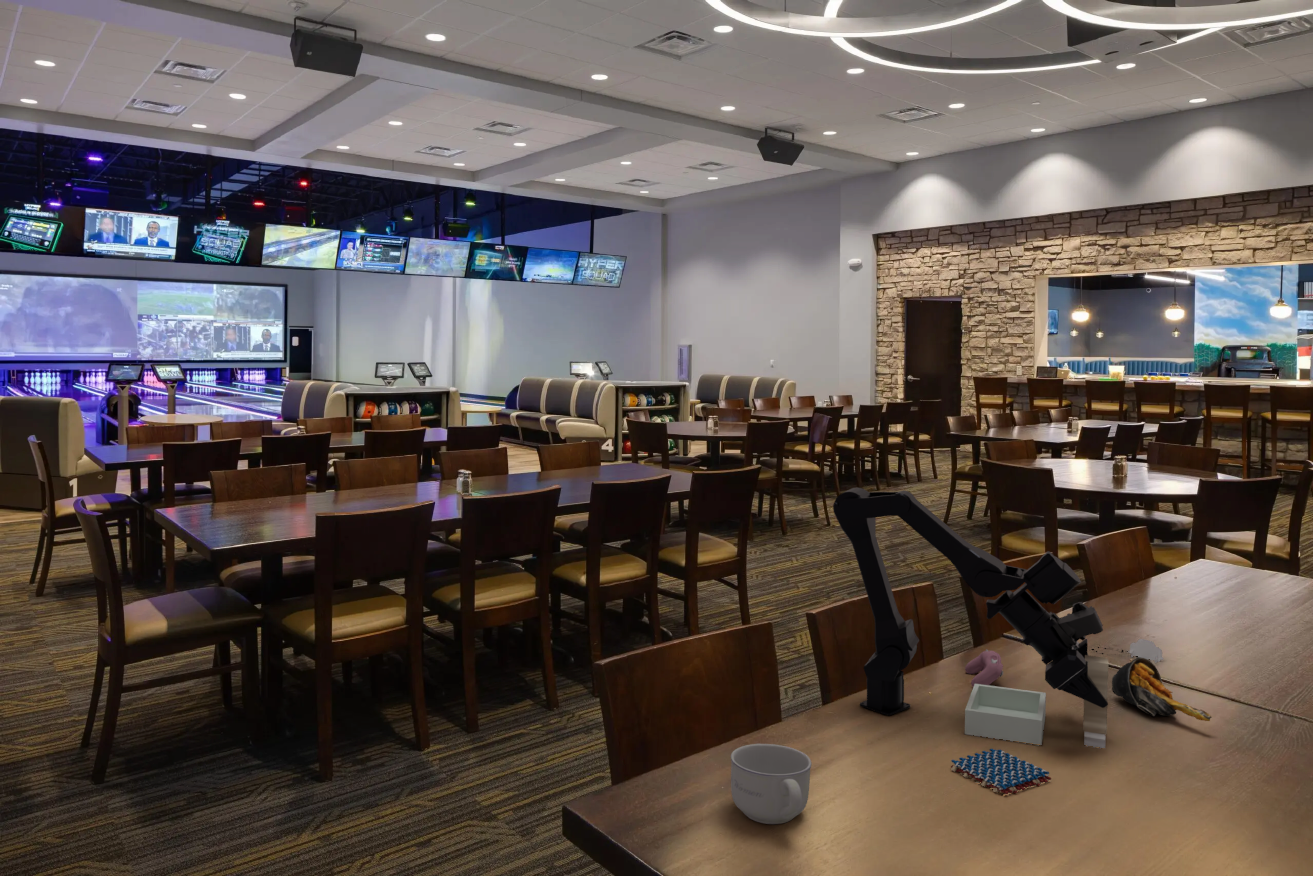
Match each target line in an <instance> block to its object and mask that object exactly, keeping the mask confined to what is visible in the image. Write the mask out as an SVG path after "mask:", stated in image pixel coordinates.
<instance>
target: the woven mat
mask: <svg viewBox="0 0 1313 876" xmlns="http://www.w3.org/2000/svg"><path fill="white" fill-rule="evenodd" d="M988 750H989V751H986V750H982V751H981V753H982V754H981V753H977V752H976V753H974V755H966V757H967V758H966V757H959V758H958V759H959V760H956V759H951V761H950V762H951V763H953V764H952V765H950V768H951V769H950V770H951V772H954V773H959V775H960V774H961V775H960V776H963V777H964V778H965V779H969V777H970V778H971V779H970V781H972V780H976V782H975V781H974V784H975V783H980V782H981V784H980V786H981V785H982V786H981V787H983V786H984V787H983V788H991V787H992V788H994V789H993V790H992V792H993V793H994V792H1000V791H1001V793H1002V794H1003V793H1004V794H1008V793H1012V794H1013V793H1014V794H1017V793H1019V792H1017V791H1018V790H1021V789H1022V790H1023V791H1026V790H1025V788H1027V787H1031V786H1035V787H1039V786H1041V785H1042V784H1041V783H1043V782H1045V784H1048V783H1049V782H1048V781H1049V780H1051V781H1052V777H1050V776H1049V775H1050V772H1049V771H1047V770H1045V769H1043V768H1041V767H1039V766H1036V765H1035V764H1034V763H1030V762H1027V761H1026V760H1022V759H1021V758H1018V757H1017V756H1016V755H1015V756H1013V754H1010V753H1008V752H1005V751H1004V750H1002V749H993V748H989V749H988ZM963 774H964V775H963ZM1047 782H1048V783H1047ZM992 784H994V785H992ZM1040 784H1041V785H1040ZM1036 785H1037V786H1036ZM985 786H987V787H985ZM1024 787H1025V788H1024ZM1023 791H1022V792H1023Z"/></svg>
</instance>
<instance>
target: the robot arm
mask: <svg viewBox="0 0 1313 876" xmlns="http://www.w3.org/2000/svg"><path fill="white" fill-rule="evenodd" d="M832 510H833V513H834V516H835V517H836V521H837V522H838V524H839V526H840V528H841V530H842V532H843V533H844V534H845V536H846V537H847V538H848V540H849V541H850V542H851V545H852V548H853V552H854V555H855V558H856V561H857V565H858V568H859V572H860V574H861V578H862V581H863V585H864V588H865V592H866V595H867V599H868V602H869V605H870V609H871V611H872V615H873V618H874V644H875V652H873V654H872V655H871V656H870V658H869V659H868V661H867V662H866V663H865V664H864V666H863V670H864V674H865V677H866V700H864V701H861V702H859V706H860V707H862V708H865V709H868V710H870V711H874V712H876V713H879V714H881V715H884V716H893V715H894V714H897V713H900V712H902V711H905V710H908V709H911V704H910V703H908V702H904V701H905V679H904V671H903V670H905V669H906V668H907V667H908V666H909V664H910V662H911V661H912V659H913V658H914V656H915V654H916V653H917V647H918V646H917V645H918V643H919V642H920V639H919V637H918V636H917V634H916V632H915V627H914V620H913V619H912V618H910V619H907V620H905V619H904V618H903V615H901V613H900V612H899V610H898V606H897V603H896V600H895V597H894V592H893V590H892V589H893V588H892V586H891V583H890V579H889V576H888V574H887V573H888V572H887V570H886V566H885V563H884V560H883V555H882V554H881V553H882V552H881V549H880V545H879V542H878V540H877V534H876V530H877V529H876V527H877V526H876V525H877V524H876V522H877V521H876V518H883V517H891V516H893V517H894V516H897V517H898V518H900V520H902V521H903V522H904V523H906V524H907V525H908V526H909V527H910V528H911V529H912V530H914V531H915V532H916V533H917V534H918V535H920V536H921V537H922V538H923V539H925V540H926V541H927V542H928V543H929V544H930V545H931V546H932V547H934V548H935V549H936V550H937V551H938V552H940V553H941V554H942V555H943V556H944V557H945V558H947V559H948V560H949V561H950V562H951V563H952V565H953V566H954V568H955V569H956V570H957V573H958V574H959V575H960V577H961V578H962V579H963V580H964V582H965V583H966V584H967V585H968V586H969V588H970V589H971V590H972V591H973V592H974V593H975V594H976V595H977V596H980V597H982V598H993V597H997V596H998V595H999V597H997V598H996V599H987V600H986V602H985V605H986V610H987V612H986V619H988V620H991V619H992V618H994V617H995V616H996V615H997V614H1000V615H1001V616H1002V617H1003V618H1004V619H1005V620H1006V621H1007V622H1008V623H1009V624H1010V625H1011V627H1012V628H1013V629H1015V630H1016V632H1018V634H1019V635H1020V636H1021V637H1023V638H1022V642H1023V643H1024V644H1025V645H1026V646H1028V645H1030V646H1031V647H1032V648H1033V649H1034V650H1035V651H1036V652H1037V653H1038V654H1039V656H1041V661H1042V663H1044V665H1045V671H1044V681H1045V682H1046V683H1047V684H1048V685H1049V686H1050V687H1051V688H1052V689H1053V690H1056V689H1057V690H1058V691H1063V692H1065V693H1068V694H1070V695H1073V696H1075V697H1078V698H1079V699H1082V700H1083V701H1084V700H1086V701H1088V702H1091V703H1093V704H1095V705H1097V706H1099V707H1102V708H1104V707H1106V706H1107V707H1108V706H1109V702H1107V701H1106V699H1105V698H1104V696H1103V695H1102V694H1101V692H1100V691H1099V689H1098V688H1097V687H1096V685H1095V684H1094V682H1093V681H1092V680H1091V678H1090V677H1089V676H1088V661H1086V660H1085V655H1089V654H1088V645H1089V644H1088V641H1089V640H1088V638H1086V636H1089V635H1097V634H1100V633H1101V632H1103V631H1104V627H1103V625H1104V624H1103V623H1102V621H1101V619H1100V617H1099V615H1098V611H1096V609H1095V607H1093V605H1090V606H1087V604H1085V603H1083V602H1082V601H1079V602H1076V603H1073V604H1072V605H1071V607H1072V609H1071V611H1072V612H1071V613H1070V612H1069V613H1067V615H1064V616H1062V617H1059V616H1058V614H1056V613H1055V612H1052V611H1049V612H1048V611H1047V610H1046V609H1045V608H1044V607H1043V606H1042V605H1041V604H1046V605H1047V604H1048V603H1050V604H1052V605H1055V604H1056V603H1058V602H1059V601H1060V600H1061V599H1063V598H1064V597H1066V595H1067V594H1068V593H1070V592H1071V591H1073V590H1074V589H1075V588H1077V586H1079V585H1080V584H1081V583H1082V581H1081V579H1080V577H1079V576H1078V574H1077V573H1076V572H1075V571H1074V570H1073V569H1072V567H1070V566H1069V564H1067V563H1066V562H1063V561H1062V560H1061V559H1060V558H1058V557H1057V556H1055V555H1054V554H1053V553H1052V552H1051V551H1046V552H1045V553H1044V554H1043V555H1042V556H1041V557H1040V559H1039V560H1037V561H1036V562H1035V563H1034V564H1032V566H1030V567H1029V568H1027V569H1026V568H1021V567H1018V566H1017V567H1016V566H1013V565H1012V566H1011V565H1006V564H1005V563H1004V562H1003V561H1002V560H1000V558H998V557H996V556H994V555H993V554H990V553H989V552H988V551H986V550H985V549H982V548H980V547H977V546H975V545H973V544H971V543H969V542H968V541H966V540H965V539H964V538H963V537H961V535H959V534H958V533H957V532H956V531H954V529H952V528H951V527H950V526H949V525H947V524H946V523H945V522H944V521H943V520H941V519H940V518H939V517H938V516H937V515H935V513H933V512H932V511H931V510H930V509H929V508H928V507H926V506H925V505H924V504H923V503H921V501H919V500H918V499H917V498H916V497H915V496H914V494H913V493H912V492H910V491H908V490H900V491H867V490H866V489H864V488H861V487H852V488H850V489H848V490H845V491H844V492H842V493H840V494H839V495H838V496H836V498H835V500H834V501H833V504H832ZM1027 590H1028V591H1029V592H1030V593H1029V592H1028V591H1027ZM1002 592H1003V593H1002ZM1001 593H1002V594H1001ZM1034 597H1035V598H1034ZM1038 601H1039V602H1040V603H1041V604H1040V603H1039V602H1038ZM1079 640H1080V641H1081V642H1079Z"/></svg>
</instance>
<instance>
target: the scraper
mask: <svg viewBox="0 0 1313 876" xmlns="http://www.w3.org/2000/svg"><path fill="white" fill-rule="evenodd" d="M1085 660H1086V661H1088V676H1089V677H1090V678H1091V680H1092V681H1093V682H1094V684H1095V685H1096V687H1097V688H1098V689H1099V691H1100V692H1101V694H1102V695H1103V696H1104V698H1105V699H1106V701H1107V702H1108V701H1109V699H1108V698H1109V697H1108V696H1109V693H1108V692H1109V657H1105V656H1097V655H1090V654H1088V655H1085ZM1108 703H1109V702H1108ZM1082 731H1083V732H1084V735H1083V736H1084V740H1083V741H1084V742H1083V743H1084V745H1087V746H1086V747H1088V746H1093V747H1092V748H1095V747H1100V748H1099V749H1101V748H1105V749H1106V740H1107V739H1106V735H1108V705H1107V706H1106V707H1104V708H1102V707H1099V706H1097V705H1095V704H1093V703H1091V702H1088V701H1086V700H1084V699H1083V724H1082ZM1084 745H1083V746H1084Z"/></svg>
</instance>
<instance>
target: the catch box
mask: <svg viewBox="0 0 1313 876" xmlns="http://www.w3.org/2000/svg"><path fill="white" fill-rule="evenodd" d="M1046 700H1047V693H1046V692H1043V691H1034V690H1029V689H1028V690H1026V689H1019V688H1018V689H1017V688H1011V687H1005V686H1004V687H1003V686H995V685H981V684H974V687H973V686H972V691H971V693H970V694H969V698H968V701H967V704H966V706H965V709H964V735H968V736H973V735H974V736H975V737H980V736H982V737H981V738H986V737H988V738H987V739H993V738H995V739H994V740H999V739H1003V740H1002V741H1006V740H1010V741H1009V742H1013V741H1019V742H1026V743H1033V744H1040V745H1043V744H1042V743H1043V738H1044V731H1043V730H1044V729H1045V722H1046V709H1047V708H1046V703H1047V701H1046ZM974 736H973V737H974ZM1019 742H1018V743H1019ZM1026 743H1025V744H1026Z"/></svg>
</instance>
